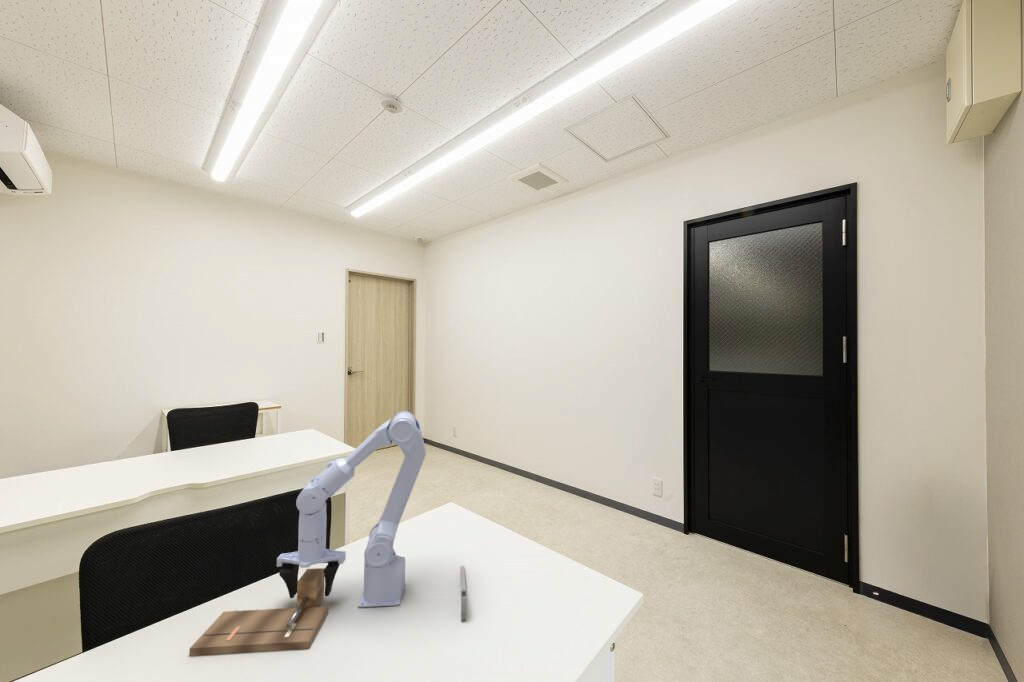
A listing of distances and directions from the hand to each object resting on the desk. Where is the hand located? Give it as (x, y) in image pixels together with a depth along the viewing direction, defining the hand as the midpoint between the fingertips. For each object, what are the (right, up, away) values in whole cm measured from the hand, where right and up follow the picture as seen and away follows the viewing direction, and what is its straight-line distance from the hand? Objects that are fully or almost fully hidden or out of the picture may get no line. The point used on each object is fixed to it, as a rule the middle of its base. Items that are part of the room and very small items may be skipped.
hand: (311, 594), depth 87 cm
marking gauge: (0, -2, -4) cm, 5 cm away
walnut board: (-5, -2, -9) cm, 10 cm away
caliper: (+35, -4, +6) cm, 35 cm away
